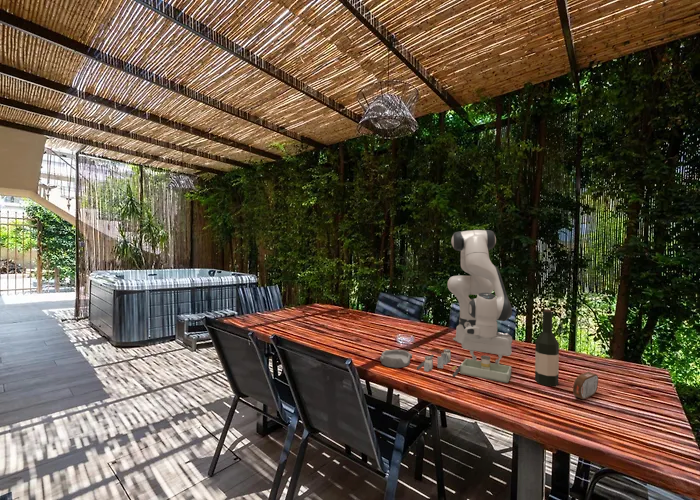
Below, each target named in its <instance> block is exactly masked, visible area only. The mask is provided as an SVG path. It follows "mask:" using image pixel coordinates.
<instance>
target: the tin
mask: <svg viewBox="0 0 700 500" xmlns="http://www.w3.org/2000/svg"><path fill="white" fill-rule="evenodd" d="M598 387H599V376H598V374H596V373H594V372H591V371H587V372H584V373H581V374H579V375H578V376H576V378H575V380H574V384H573V388H572V392H573V396H574V397H575V398H578V399H580V400H585V399H588V398H590V397H592V396H594V395H595V394H596V392H597V390H598Z"/></svg>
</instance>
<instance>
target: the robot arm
mask: <svg viewBox="0 0 700 500" xmlns="http://www.w3.org/2000/svg"><path fill="white" fill-rule="evenodd" d="M450 242H451V246H452V247H453V249H454V250H455V251H458V252H460V268H461V270H462V271H464V272H465V273H467V274H469V275H461V274H460V275H453V276H450V277H449V279H448V280H447V288H448V291H449V292H450V293H452V295H454V297H456V300H457V301H458V305H459V318H458V325H457V326H456V330H455V336H454V337H453V339H452V340H453V341H455V342H457V343H459V344H461V348H462V349H463V350H467V351H469V354H470V356H471V359H472V360H474V361H476V360H477V361H478V359H477V355H475V354H474V352H480V353H487V354H491V355H498V359H495V360H494V361H495V362H494V363H495V364H496V365H499V364H500V361H501V359H502V358H503V356H504V357H510V356H511V355H512V351H513V349H512V344H513V337H512V336H511V335H510V334H509V333H508V332H507V333H503V332H500V331H499V332H498V322H499V321H501V322H506V321H507V320H510V318H511V317H512V315H513V308H512V304H511V302H510V299H509V297H508V295H507V294H508V293H507V291H506V288H505V285H504V281H503V279H502V275H501V273H500V270H499V269H498V267H497V266H496V265H494V264H493V262H492V261H491V259H490V254H489V253H490V252H489V251H490V250H492V249H493V248H494V247H495V246H496V243H497V238H496V234H495V232H494V231H493V230H491V229H490V230H489V229H485V230H484V229H473V230H471V229H470V230H463V231H456V232H454V233H453V234H452V237H451V241H450ZM493 292H494V293H493ZM470 295H473V296H475V295H476V298H470V297H469V296H470Z"/></svg>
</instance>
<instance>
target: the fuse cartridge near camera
mask: <svg viewBox="0 0 700 500" xmlns="http://www.w3.org/2000/svg"><path fill="white" fill-rule="evenodd" d="M432 360H433V357H431V355H426V356H424V361H425V362H426V363H429V372H430V371H432V370H433V368H432Z"/></svg>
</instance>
